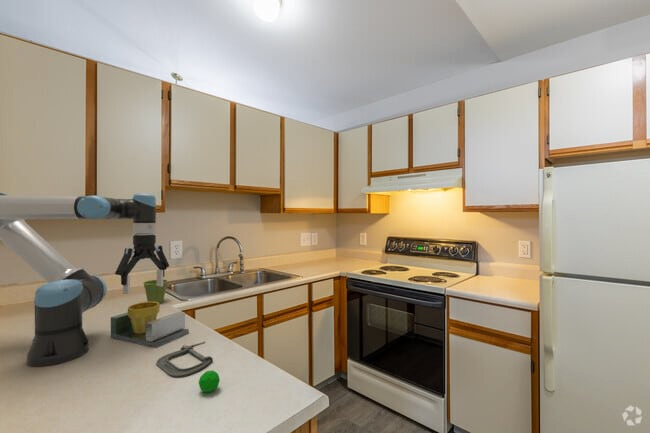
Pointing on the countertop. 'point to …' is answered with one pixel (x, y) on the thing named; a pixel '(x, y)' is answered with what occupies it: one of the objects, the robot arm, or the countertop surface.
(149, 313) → the plant pot
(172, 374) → the c clamp
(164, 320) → the steel jaw
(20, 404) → the countertop surface
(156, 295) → the plant pot
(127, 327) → the vise base
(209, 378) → the polyhedron
